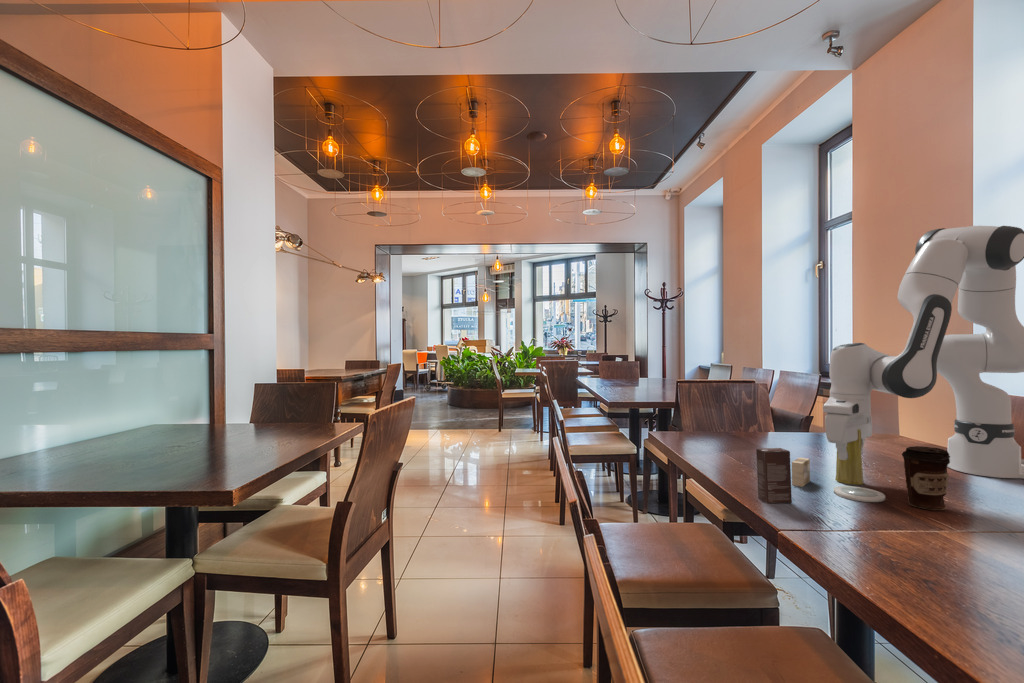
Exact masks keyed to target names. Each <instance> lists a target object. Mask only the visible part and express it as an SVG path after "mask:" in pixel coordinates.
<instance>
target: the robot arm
mask: <svg viewBox="0 0 1024 683" xmlns="http://www.w3.org/2000/svg"><path fill="white" fill-rule="evenodd" d="M914 249H915V250H914V255H915V256H914V257H913V259H912V260H911V261H910V264H909V265H908V267H907V269H906V271H905V273H904V275H903V277H902V280H901V282H900V284H899V288H898V290H897V297H896V298H897V301H898V303H899V304H900V306H901V307H902V308H903V309H904V310H906V311H907V312H909V313H911V315H912V318H913V319H912V320H913V324H912V325H911V326H912V327H911V329H910V331H909V336H908V338H907V340H906V343H905V347H904V349H903V350H902V352H901V353H899V354H898V355H895V356H894V355H889V354H887V353H883V352H881V351H877V350H876V349H874V348H872V347H870V346H868V345H867V344H866V343H865V342H853V343H847V344H846V343H845V344H840V345H837V346H835V347H834V348H832V350H831V353H830V358H829V368H828V369H829V370H828V371H829V372H828V373H829V376H828V377H829V378H830V379H829V380H830V384H831V385H830V388H829V397H828V399H827V401H825V403H824V404H823V405H822V411H823V413H826V414H825V416H824V426H825V436H826V439H827V442H828V443H830V444H835V448H836V452H837V451H838V458H839V459H840V460H847V459H848V453H847V449H846V447H847V443H849V442H852V441H856V440H857V439H858V431H857V430H859V429H861V456H862V455H863V452H864V450H863V449H864V445H865V441H866V440H865V439H866V438H870V437H872V434H873V422H872V414H871V412H872V401H871V400H872V398H871V397H872V395H871V394H872V391H873V390H874V391H876V392H880V393H886V394H891V395H895V396H898V397H902V398H906V399H917V398H920V397H923V396H926V395H927V394H929V393H930V392H931V391H932V389H934V387H935V386H936V383H937V378H938V374H939V375H940V376H942V377H943V378H944V379H945V380H946V382H947V383H948V384H949V386H950V388H951V389H952V391H953V395H954V396H953V397H954V400H955V412H956V414H955V416H956V419H954V423H953V427H954V432H955V433H954V435H951V436H950V437H948V438H947V450H946V451H947V452H948V453H949V456H950V458H949V459H950V463H949V464H948V466H947V468H949V469H951V470H953V471H957V472H961V473H966V474H970V475H977V476H983V477H989V478H990V477H991V478H999V479H1001V478H1003V479H1023V480H1024V458H1022V446H1020V444H1018V443H1017V441H1016V440H1015V439H1014V438H1015V436H1016V435H1015V433H1016V429H1015V425H1014V424H1013V423H1012V398H1011V396H1010V394H1008V392H1006V391H1005V390H1004V389H1002V388H1000V387H997V386H995V385H992V384H989V383H986V382H984V381H982V379H981V376H980V374H983V373H986V374H987V373H991V374H993V373H995V374H996V373H997V374H999V373H1000V374H1006V373H1007V374H1020V373H1024V325H1023V324H1022V323H1021V321H1020V320H1019V318H1018V316H1017V311H1016V289H1017V288H1016V287H1017V269H1016V266H1017V265H1018V264H1019V263H1021V262H1022V261H1023V260H1024V230H1023V229H1022V228H1020V227H1018V226H1011V225H1001V226H995V225H994V226H993V225H969V226H960V227H958V226H957V227H952V228H951V227H950V228H944V227H942V228H936V229H932V230H929V231H926V232H925V233H924V234H923V235H922V236H921V237H920V238H919V239H918V240H917V243H916V245H915V248H914ZM957 290H958V294H957V313H958V315H959V316H960V317H961V318H962V319H963V320H965V321H968V322H969V323H971V324H975V325H979V326H982V327H984V328H985V332H984V333H971V334H970V333H965V334H964V333H962V334H961V333H958V334H957V333H955V334H954V333H952V334H946V333H947V329H948V327H949V323H950V320H951V316H952V312H953V311H952V308H953V306H952V305H953V300H954V298H955V295H956V292H957Z"/></svg>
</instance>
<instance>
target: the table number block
mask: <svg viewBox="0 0 1024 683" xmlns="http://www.w3.org/2000/svg"><path fill="white" fill-rule="evenodd" d="M810 463H811V460H810V458H805V457H800V456H799V457H797V458H796V459H795V460H793V461H792V462H791V486H796V487H801V488H803V487H804V486H806V485H807V484H808V483H810V482H811V464H810Z"/></svg>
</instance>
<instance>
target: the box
mask: <svg viewBox="0 0 1024 683" xmlns="http://www.w3.org/2000/svg"><path fill="white" fill-rule="evenodd" d="M755 450H756V454H755V455H756V473H757V474H756V476H757V478H756V479H757V497H758V500H761V501H762V502H764V503H766V504H778V503H779V504H780V503H781V504H782V503H783V504H784V503H785V504H786V503H788V504H789V503H790V504H792V502H793V500H792V498H793V497H792V468H791V451H790V450H787V449H785V448H781V447H774V448H773V447H768V448H767V447H766V448H765V447H762V448H761V447H760V448H757V447H756V449H755Z"/></svg>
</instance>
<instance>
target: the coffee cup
mask: <svg viewBox="0 0 1024 683" xmlns="http://www.w3.org/2000/svg"><path fill="white" fill-rule="evenodd" d="M901 455H902V456H901V457H902V458H903V466H904V476H905V482H906V489H907V490H906V495H907V498H908V499H907V500H908V505H910V506H912V507H914V508H919V509H924V510H931V511H943V510H946V509H947V507H946V504H945V499H944V497H945V496H946V495H947V489H948V483H949V473H948V467H947V466H948V464H949V463H950V459H949V458H950V456H949V453H948V452H947V450H945V449H943V448H939V447H932V446H931V447H930V446H916V445H915V446H908V447H906V449H905V450H904V451H903V452H902V454H901Z"/></svg>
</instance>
